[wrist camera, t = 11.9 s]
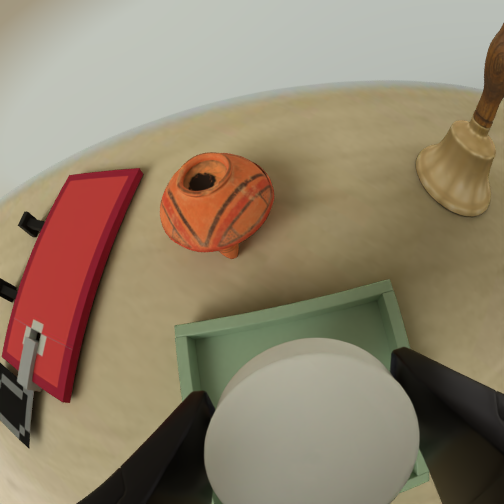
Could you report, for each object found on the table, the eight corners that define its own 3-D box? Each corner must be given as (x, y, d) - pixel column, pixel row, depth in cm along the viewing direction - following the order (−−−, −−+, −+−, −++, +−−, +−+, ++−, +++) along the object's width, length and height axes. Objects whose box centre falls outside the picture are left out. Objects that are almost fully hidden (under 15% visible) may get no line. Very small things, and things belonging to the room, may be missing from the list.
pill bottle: (332, 339, 14) (377, 262, 5) (375, 426, 11) (479, 475, 3) (237, 383, 13) (129, 376, 5) (279, 470, 11) (234, 581, 2)
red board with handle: (-10, 403, 17) (67, 472, 14) (-27, 400, 15) (45, 476, 12) (58, 183, 30) (145, 177, 26) (46, 171, 27) (133, 158, 24)
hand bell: (415, 137, 23) (443, -10, 8) (483, 162, 20) (534, 36, 6) (414, 200, 20) (474, 14, 6) (493, 229, 17) (584, 87, 3)
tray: (418, 472, 11) (429, 480, 9) (216, 511, 12) (207, 523, 11) (382, 288, 17) (390, 278, 16) (186, 331, 19) (173, 325, 17)
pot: (162, 271, 20) (121, 204, 15) (199, 202, 25) (176, 137, 20) (267, 286, 18) (250, 207, 13) (287, 205, 23) (278, 132, 18)
